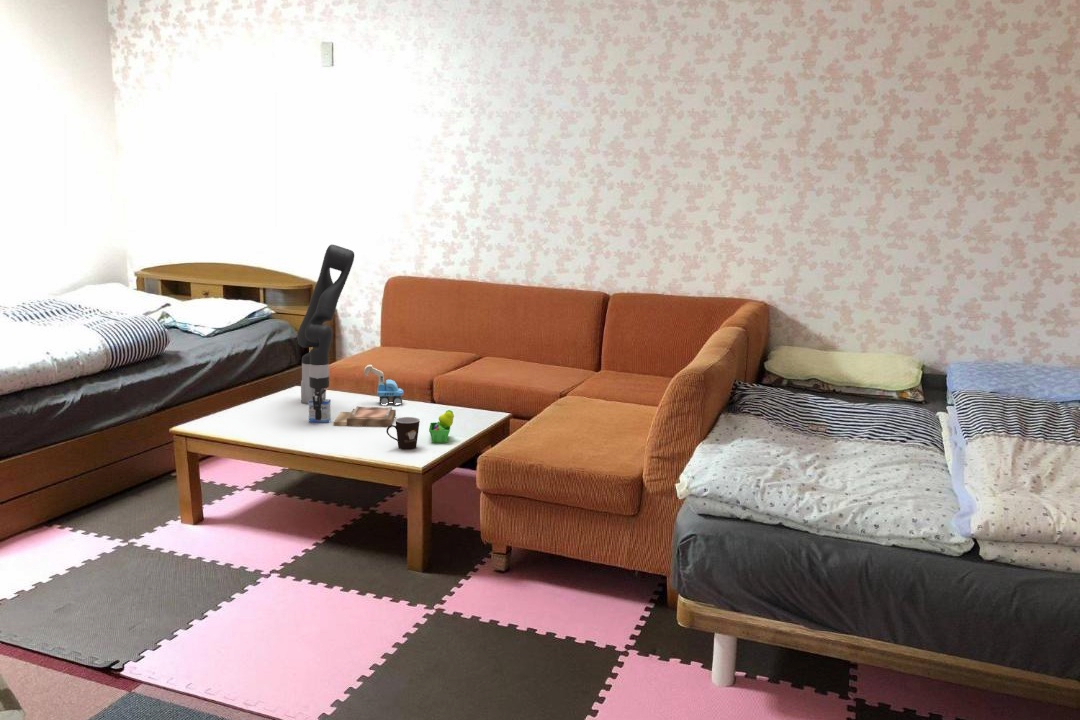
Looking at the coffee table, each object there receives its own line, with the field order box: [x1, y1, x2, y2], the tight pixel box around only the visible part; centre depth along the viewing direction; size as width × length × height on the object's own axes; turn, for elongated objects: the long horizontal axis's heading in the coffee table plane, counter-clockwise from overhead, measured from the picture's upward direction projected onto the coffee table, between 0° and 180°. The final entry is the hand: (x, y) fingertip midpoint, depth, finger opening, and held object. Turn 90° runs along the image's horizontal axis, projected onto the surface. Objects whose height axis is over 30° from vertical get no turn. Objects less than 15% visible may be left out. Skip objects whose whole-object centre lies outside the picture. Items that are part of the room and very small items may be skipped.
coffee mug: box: [386, 416, 420, 451], centre depth 301 cm, size 12×9×10 cm
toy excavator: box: [363, 364, 405, 405], centre depth 363 cm, size 9×17×17 cm, turn 100°
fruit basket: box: [428, 409, 455, 444], centre depth 312 cm, size 11×9×11 cm
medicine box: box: [308, 398, 332, 424], centre depth 331 cm, size 8×4×9 cm, turn 95°
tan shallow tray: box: [333, 405, 397, 428], centre depth 335 cm, size 22×16×4 cm
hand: (319, 417), depth 332 cm, fingers closed on medicine box, 4 cm apart
